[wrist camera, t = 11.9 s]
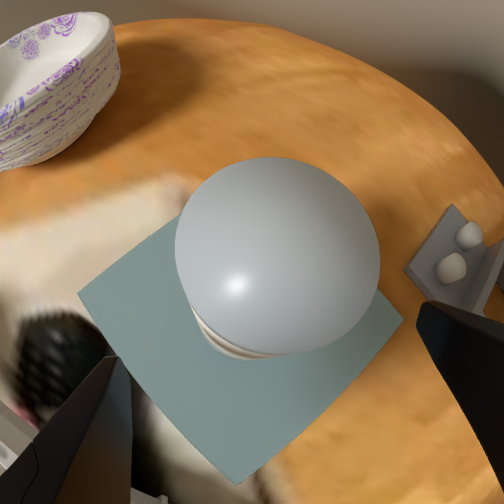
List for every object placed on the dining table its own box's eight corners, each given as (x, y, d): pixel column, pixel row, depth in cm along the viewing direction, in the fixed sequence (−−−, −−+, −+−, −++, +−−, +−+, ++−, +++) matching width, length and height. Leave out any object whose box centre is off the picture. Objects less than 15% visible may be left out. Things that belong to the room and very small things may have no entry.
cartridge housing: (523, 315, 19) (546, 307, 16) (492, 388, 16) (519, 385, 14) (447, 208, 22) (467, 190, 19) (402, 269, 19) (427, 253, 16)
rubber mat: (399, 320, 18) (404, 319, 17) (235, 482, 13) (235, 485, 13) (254, 168, 21) (255, 163, 20) (81, 295, 16) (76, 293, 16)
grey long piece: (194, 592, 7) (-127, 333, 6) (186, 535, 14) (-75, 342, 12) (237, 539, 9) (-109, 268, 8) (218, 486, 15) (-57, 290, 14)
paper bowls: (104, 54, 25) (92, -6, 17) (153, 132, 21) (138, 46, 14) (-15, 122, 20) (-45, 73, 13) (-11, 231, 17) (-71, 178, 9)
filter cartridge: (297, 281, 17) (381, 186, 8) (281, 369, 16) (369, 369, 6) (211, 261, 17) (209, 140, 8) (188, 348, 15) (147, 321, 6)
